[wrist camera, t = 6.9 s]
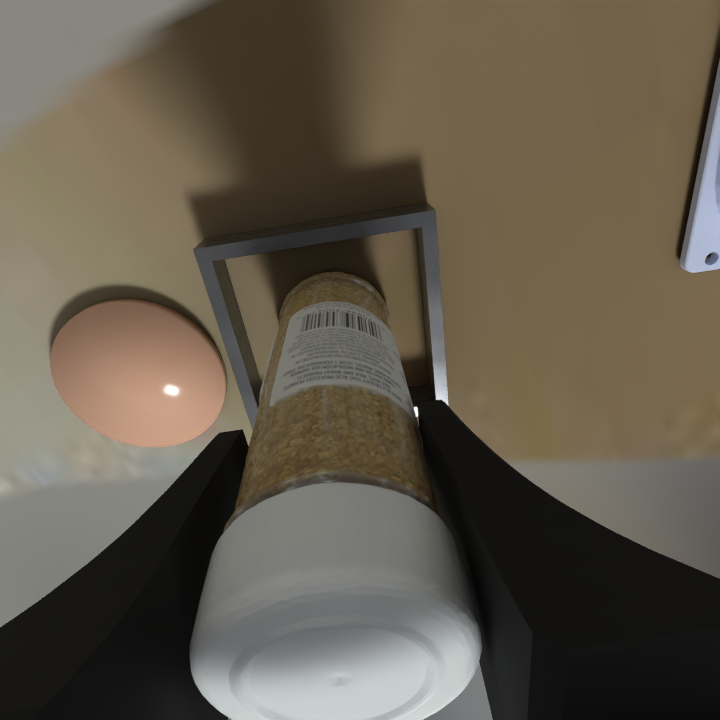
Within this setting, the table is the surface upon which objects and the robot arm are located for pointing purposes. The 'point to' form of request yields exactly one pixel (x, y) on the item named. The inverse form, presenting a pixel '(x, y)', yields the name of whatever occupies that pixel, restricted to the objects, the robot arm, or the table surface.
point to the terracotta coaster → (139, 372)
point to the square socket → (313, 233)
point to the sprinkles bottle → (335, 536)
